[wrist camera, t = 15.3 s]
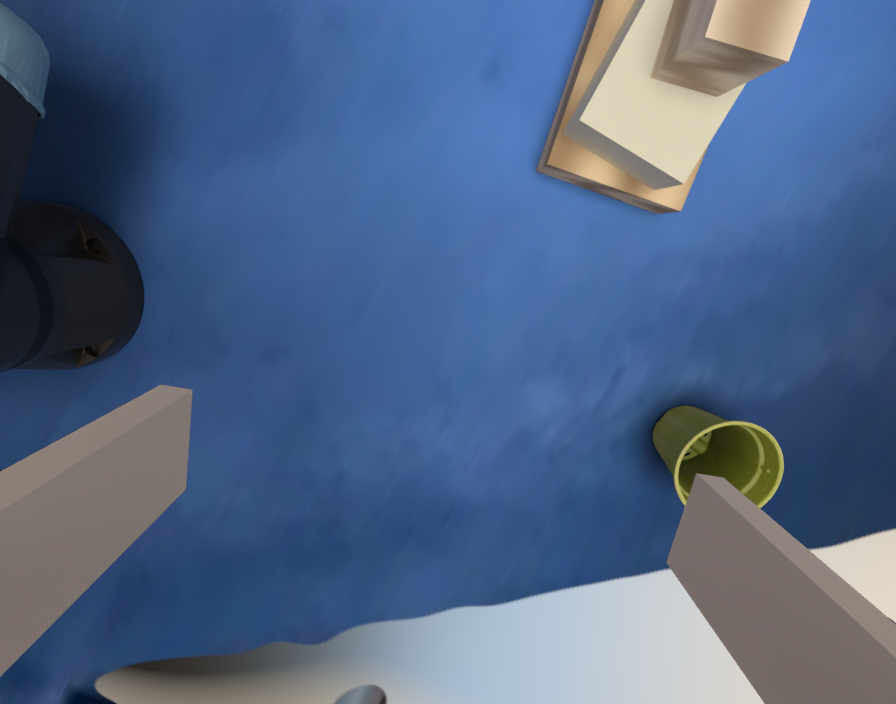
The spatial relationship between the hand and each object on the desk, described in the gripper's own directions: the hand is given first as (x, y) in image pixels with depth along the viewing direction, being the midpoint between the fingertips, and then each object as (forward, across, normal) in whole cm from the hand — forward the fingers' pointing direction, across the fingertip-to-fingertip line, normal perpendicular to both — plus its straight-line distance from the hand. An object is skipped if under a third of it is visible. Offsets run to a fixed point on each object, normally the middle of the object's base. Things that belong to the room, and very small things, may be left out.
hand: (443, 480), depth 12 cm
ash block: (+25, -14, -21) cm, 36 cm away
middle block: (+30, -14, -21) cm, 39 cm away
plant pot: (+35, -27, +9) cm, 45 cm away
